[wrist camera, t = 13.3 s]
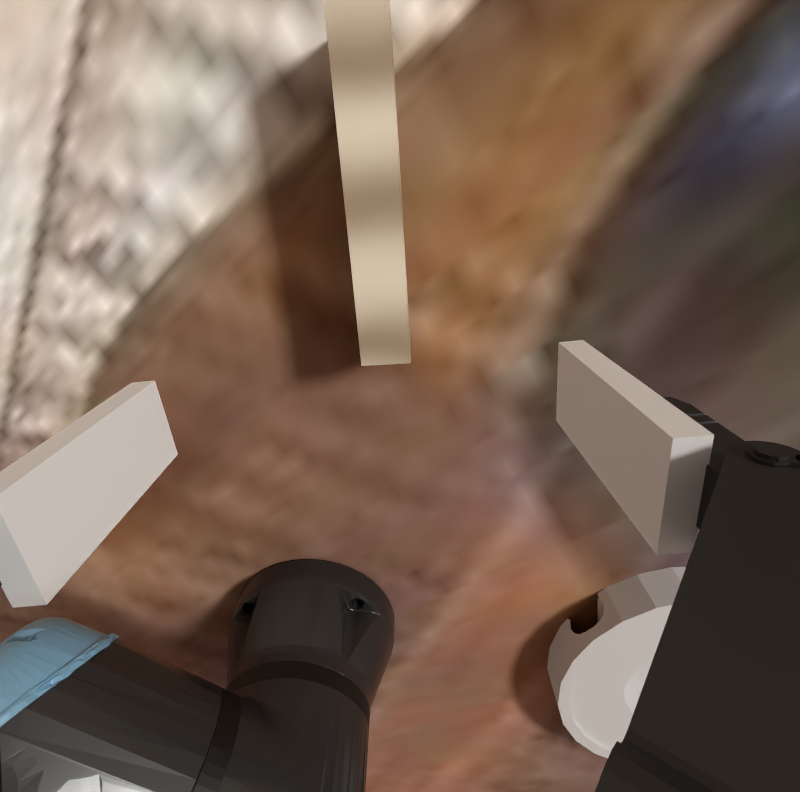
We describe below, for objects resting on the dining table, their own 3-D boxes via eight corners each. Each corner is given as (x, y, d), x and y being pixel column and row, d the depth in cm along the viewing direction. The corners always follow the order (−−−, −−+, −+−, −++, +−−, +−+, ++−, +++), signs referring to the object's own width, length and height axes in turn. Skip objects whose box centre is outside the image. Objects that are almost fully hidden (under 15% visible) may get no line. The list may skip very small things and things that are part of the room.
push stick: (409, 335, 34) (410, 362, 28) (368, 337, 34) (361, 365, 28) (391, 29, 27) (388, -13, 21) (339, 34, 27) (322, -7, 21)
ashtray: (551, 735, 52) (562, 776, 49) (540, 580, 43) (552, 616, 40) (768, 714, 51) (796, 755, 47) (804, 548, 41) (842, 583, 38)
